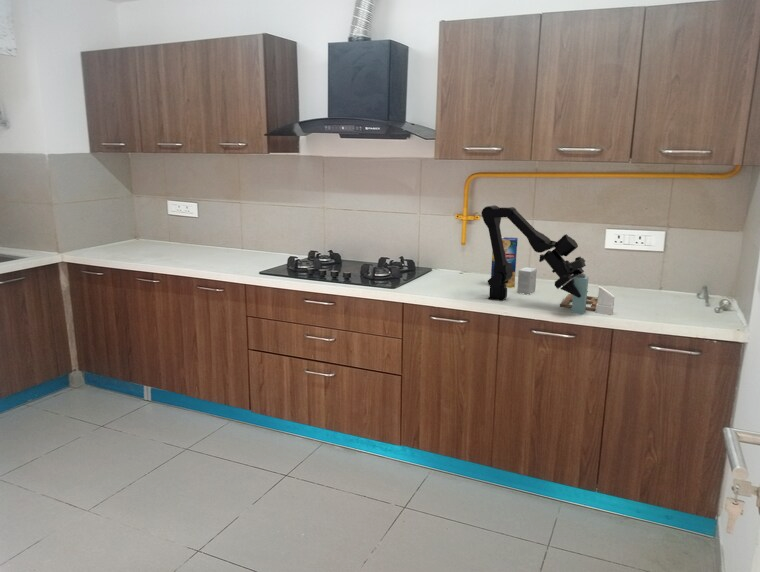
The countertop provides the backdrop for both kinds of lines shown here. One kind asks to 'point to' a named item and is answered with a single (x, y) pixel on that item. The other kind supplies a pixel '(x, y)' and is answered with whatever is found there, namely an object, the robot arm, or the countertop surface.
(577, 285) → the teal tall rectangular block
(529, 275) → the small box
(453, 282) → the countertop surface
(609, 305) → the white wedge bracket
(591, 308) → the socket board
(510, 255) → the beverage box
